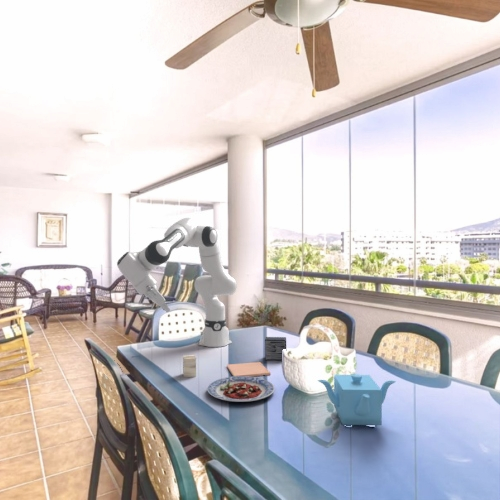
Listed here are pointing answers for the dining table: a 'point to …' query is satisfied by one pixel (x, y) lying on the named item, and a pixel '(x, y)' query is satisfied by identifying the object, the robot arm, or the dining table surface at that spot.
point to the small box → (274, 348)
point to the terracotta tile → (248, 369)
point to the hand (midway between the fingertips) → (167, 310)
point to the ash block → (189, 366)
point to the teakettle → (357, 399)
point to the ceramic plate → (241, 388)
